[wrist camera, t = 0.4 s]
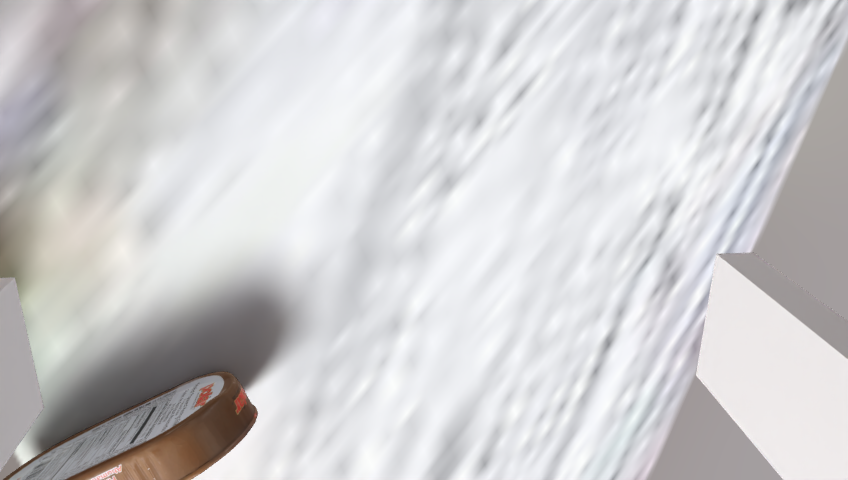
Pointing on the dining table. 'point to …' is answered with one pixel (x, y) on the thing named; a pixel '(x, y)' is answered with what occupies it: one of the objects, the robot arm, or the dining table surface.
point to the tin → (154, 436)
